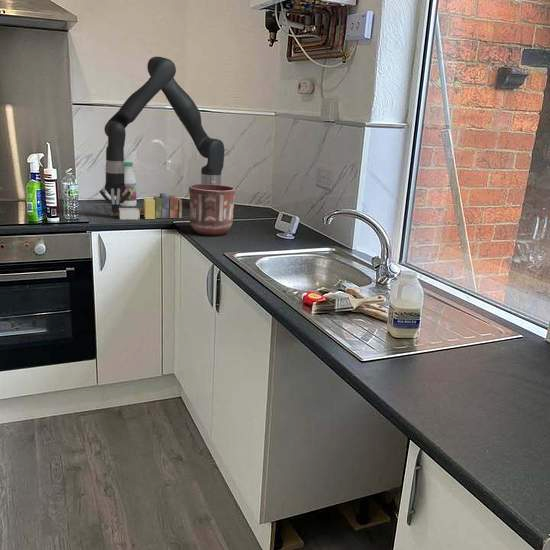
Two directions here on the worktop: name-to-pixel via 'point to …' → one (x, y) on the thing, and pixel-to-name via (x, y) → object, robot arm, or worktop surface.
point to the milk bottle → (129, 186)
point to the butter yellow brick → (149, 208)
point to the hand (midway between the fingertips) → (115, 213)
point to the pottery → (211, 208)
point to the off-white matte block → (129, 213)
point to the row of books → (164, 207)
